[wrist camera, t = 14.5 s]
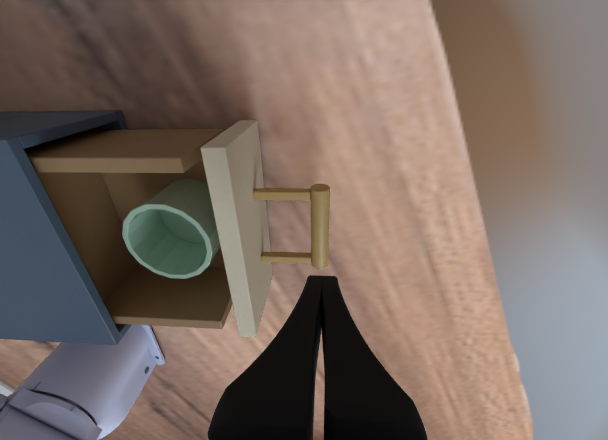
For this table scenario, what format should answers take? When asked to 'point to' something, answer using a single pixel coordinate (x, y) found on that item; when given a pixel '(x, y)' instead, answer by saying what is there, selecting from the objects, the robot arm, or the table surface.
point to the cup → (174, 229)
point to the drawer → (148, 179)
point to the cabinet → (45, 240)
